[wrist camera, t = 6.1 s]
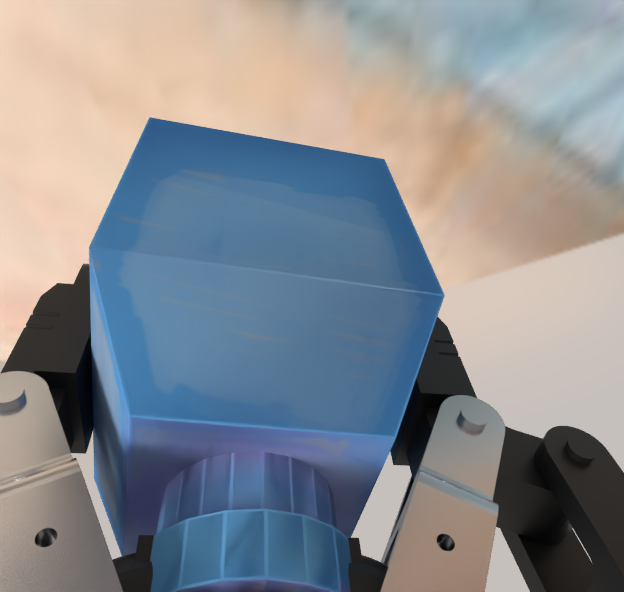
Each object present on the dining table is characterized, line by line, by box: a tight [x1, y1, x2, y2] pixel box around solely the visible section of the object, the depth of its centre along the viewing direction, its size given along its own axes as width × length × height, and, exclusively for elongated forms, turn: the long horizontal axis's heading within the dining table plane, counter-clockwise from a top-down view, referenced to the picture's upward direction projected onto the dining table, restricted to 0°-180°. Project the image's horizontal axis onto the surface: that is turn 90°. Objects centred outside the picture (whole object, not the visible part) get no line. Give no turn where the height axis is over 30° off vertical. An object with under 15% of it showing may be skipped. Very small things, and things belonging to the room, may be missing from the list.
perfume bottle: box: [89, 118, 444, 592], centre depth 12 cm, size 6×6×12 cm
